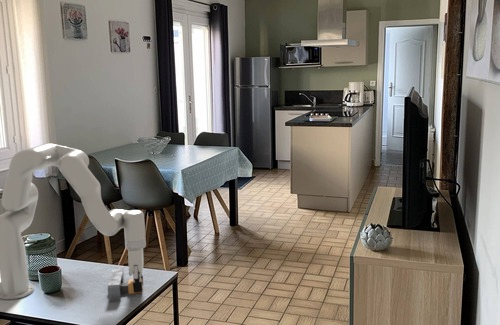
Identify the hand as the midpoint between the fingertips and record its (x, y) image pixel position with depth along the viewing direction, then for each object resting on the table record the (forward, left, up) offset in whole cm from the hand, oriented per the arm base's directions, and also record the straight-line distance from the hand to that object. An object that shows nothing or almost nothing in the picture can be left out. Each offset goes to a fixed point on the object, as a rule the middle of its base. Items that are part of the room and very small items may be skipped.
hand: (138, 288), depth 191 cm
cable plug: (-5, 0, -1) cm, 5 cm away
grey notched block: (-8, 0, -1) cm, 8 cm away
